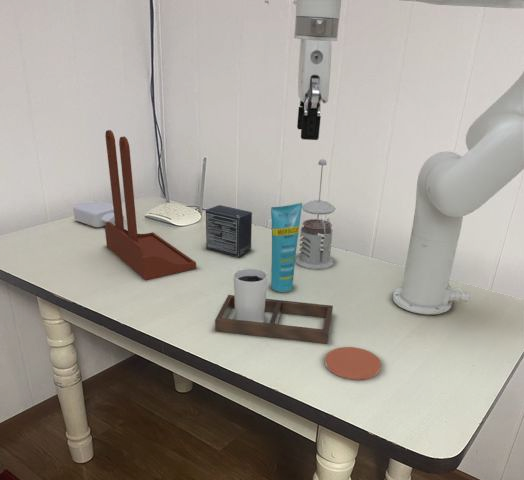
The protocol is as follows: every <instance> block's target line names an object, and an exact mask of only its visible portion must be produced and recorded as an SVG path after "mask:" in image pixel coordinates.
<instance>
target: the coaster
mask: <svg viewBox="0 0 524 480" xmlns="http://www.w3.org/2000/svg"><path fill="white" fill-rule="evenodd" d="M324 365H325V367H326V369H328V371H329V372H330V373H332V374H334V375H336V376H337V377H340V378H343V379H348V380H354V381H355V380H356V381H361V380H362V381H363V380H367V379H371V378H374V377H375V376H377V375H378V374H379V373H380V372H381V369H382V362H381V360H380V358H379V357H378V356H377V355H376V354H374V353H372V352H371V351H369V350H366V349H363V348H360V347H359V348H358V347H352V346H347V347H346V346H344V347H337V348H334V349H332V350H330V351H328V353H327V354H326V355H325V358H324Z"/></svg>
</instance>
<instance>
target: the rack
mask: <svg viewBox="0 0 524 480" xmlns="http://www.w3.org/2000/svg"><path fill="white" fill-rule="evenodd" d="M225 298H226V299H225V300H224V302H223V304H222V306H221V308H220V310H219V312H218V314H217V315H216V318H215V319H214V331H215V332H222V333H230V334H240V335H248V336H256V337H265V338H274V339H283V340H290V341H291V340H292V341H301V342H308V343H319V344H328V343H329V338H330V330H331V325H332V317H333V308H334V305H332V304H331V305H329V304H320V303H311V302H301V301H293V300H282V299H273V298H266V301H265V312H269V313H272V315H271V318H270V319H269V320H270V321H269V322H263V323H261V322H252V321H243V320H235V319H234V318H228V317H229V314H230V312H231V311H232V309H235V298H234V294H227V296H226V297H225ZM281 314H288V315H296V316H307V317H315V318H325V321H324V325H323V326H324V327H323V328H313V327H308V326H307V327H306V326H297V325H287V324H279V320H280V317H281Z"/></svg>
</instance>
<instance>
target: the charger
mask: <svg viewBox="0 0 524 480" xmlns="http://www.w3.org/2000/svg"><path fill="white" fill-rule="evenodd" d="M73 215H74V216H73V217H74V220H75V221H77V222H80V223H82V224H85V225H88V226H91V227H94V228H99V229H100V228H102V227H106V222H111V223H112V224H114V225H115V218H114V209H113V203H109V202H105V201H102V200H98V199H93V200H88V201H86V202H82V203H78V204H75V205H74V206H73ZM123 222H125V216H124V215H123Z"/></svg>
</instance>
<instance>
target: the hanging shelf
mask: <svg viewBox="0 0 524 480" xmlns="http://www.w3.org/2000/svg"><path fill="white" fill-rule="evenodd" d="M104 137H105V145H106V153H107V155H106V156H107V164H108V174H109V179H110V180H109V181H110V191H111V200H112V205H113V209H114V218H115V225H114V224H112V223H111V222H106V226H104V233H105V241H106V248H107V249H108V250H110V251H111V252H112V253H113V254H115V255H116V256H117V258H119V259H120V260H121V261H123V262H124V263H125V264H126V265H127V266H128V267H130V268H131V269H132V270H133V271H134V272H136V273H137V274H138V275H139V276H140V277H141V278H143V280H145V281H149V280H153V279H157V278H161V277H166V276H170V275H175V274H179V273H184V272H188V271H193V270H197V262H196V261H195V260H193V259H192V258H191V257H189V256H187V255H186V254H185V253H184V252H182V251H181V250H179V249H178V248H177V247H175V246H173V244H171V243H169V242H168V241H167V240H165V239H164V238H162V237H161V236H159V235H157V233H155V232H153V231H152V232H147V233H138V227H137V215H136V205H135V194H134V193H135V192H134V181H133V171H132V160H131V149H130V143H129V141H128V138H127V137H126V136H119V140H118V146H119V155H120V157H119V158H120V166H121V167H120V168H121V177H122V186H123V188H122V189H123V195H124V197H123V198H124V206H125V208H124V209H125V217H126V227H127V229H126V228H125V223H124V222H125V221H123V216H124V215H123V213H124V212H123V205H122V204H123V203H122V194H121V185H120V184H121V183H120V174H119V165H118V164H119V163H118V155H117V154H118V153H117V147H116V146H117V145H116V137H115V134H114V131H113V130H111V129H107V130H105V136H104Z"/></svg>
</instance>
